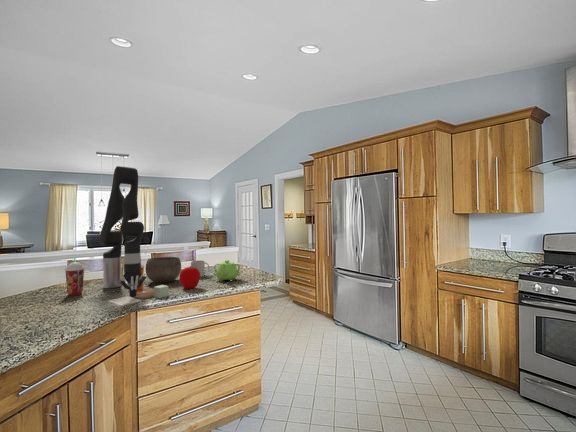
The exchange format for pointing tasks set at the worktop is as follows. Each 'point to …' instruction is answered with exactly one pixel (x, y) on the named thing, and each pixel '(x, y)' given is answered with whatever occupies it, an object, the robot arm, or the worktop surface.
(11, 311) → the worktop surface
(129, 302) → the mat
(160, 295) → the cube
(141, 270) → the coffee cup
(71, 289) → the smoothie
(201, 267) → the mug
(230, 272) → the teapot
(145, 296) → the peach domed disc
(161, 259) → the bowl
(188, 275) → the tomato
